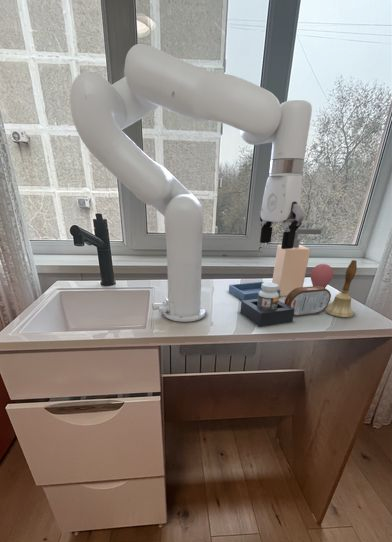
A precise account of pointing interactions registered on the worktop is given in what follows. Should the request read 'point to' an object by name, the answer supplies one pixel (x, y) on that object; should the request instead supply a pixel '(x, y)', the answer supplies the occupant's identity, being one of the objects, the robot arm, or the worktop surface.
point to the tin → (308, 300)
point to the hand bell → (343, 295)
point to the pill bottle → (268, 296)
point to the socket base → (266, 313)
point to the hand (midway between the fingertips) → (275, 245)
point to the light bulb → (321, 275)
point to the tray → (247, 290)
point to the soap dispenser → (292, 264)
